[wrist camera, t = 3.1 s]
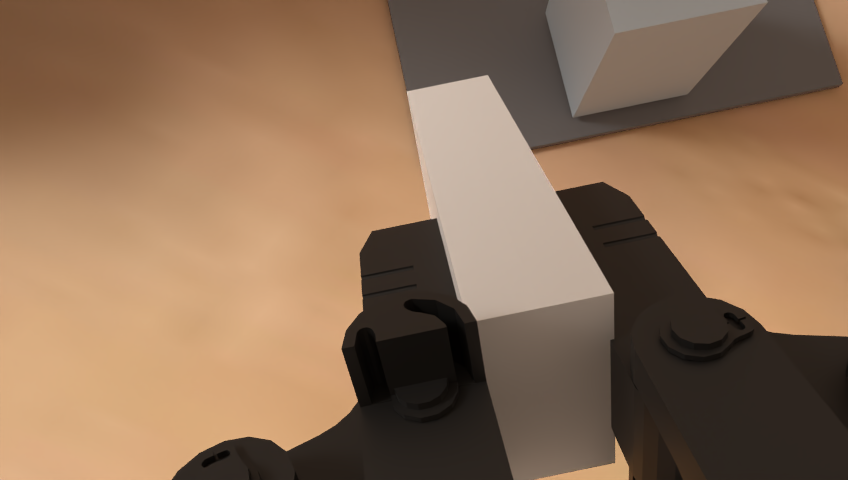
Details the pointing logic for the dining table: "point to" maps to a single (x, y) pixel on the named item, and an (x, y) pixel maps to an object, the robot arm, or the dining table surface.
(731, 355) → the robot arm
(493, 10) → the mat
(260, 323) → the dining table surface
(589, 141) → the dining table surface
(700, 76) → the block
